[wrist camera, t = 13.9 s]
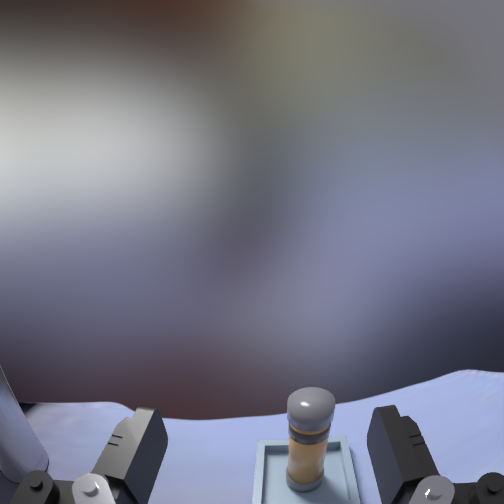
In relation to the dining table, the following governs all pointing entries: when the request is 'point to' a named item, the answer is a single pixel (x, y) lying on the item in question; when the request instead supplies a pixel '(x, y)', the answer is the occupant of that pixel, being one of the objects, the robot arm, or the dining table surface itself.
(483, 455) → the dining table surface
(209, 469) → the dining table surface
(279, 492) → the parts tray
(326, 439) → the grey capped cylinder
